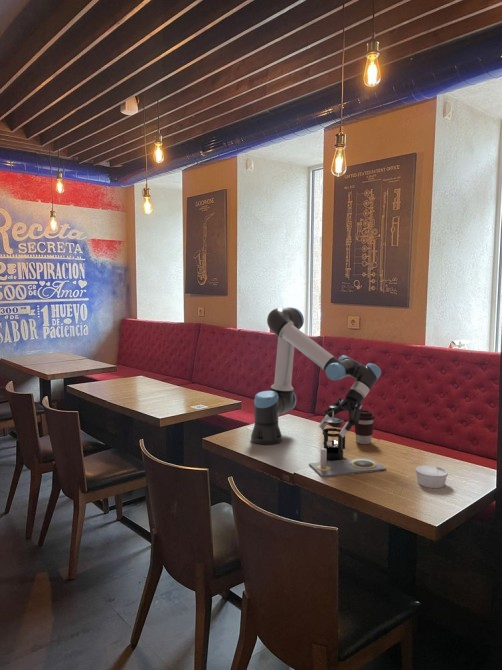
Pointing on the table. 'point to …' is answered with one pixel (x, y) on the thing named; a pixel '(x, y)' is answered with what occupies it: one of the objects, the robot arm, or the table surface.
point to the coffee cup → (364, 427)
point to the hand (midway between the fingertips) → (330, 431)
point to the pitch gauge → (344, 466)
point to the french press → (334, 446)
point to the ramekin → (431, 476)
